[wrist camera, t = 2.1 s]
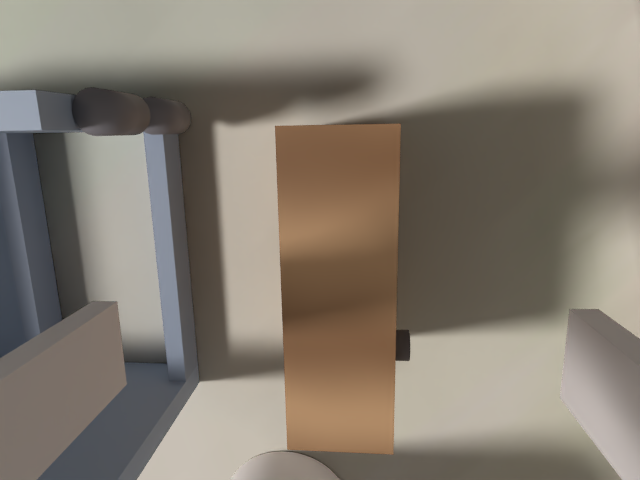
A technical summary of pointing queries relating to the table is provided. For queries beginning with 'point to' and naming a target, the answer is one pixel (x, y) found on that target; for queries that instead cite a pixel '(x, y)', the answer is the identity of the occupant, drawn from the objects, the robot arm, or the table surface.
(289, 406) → the tan wooden block
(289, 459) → the cup
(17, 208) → the cabinet
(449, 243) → the table surface
